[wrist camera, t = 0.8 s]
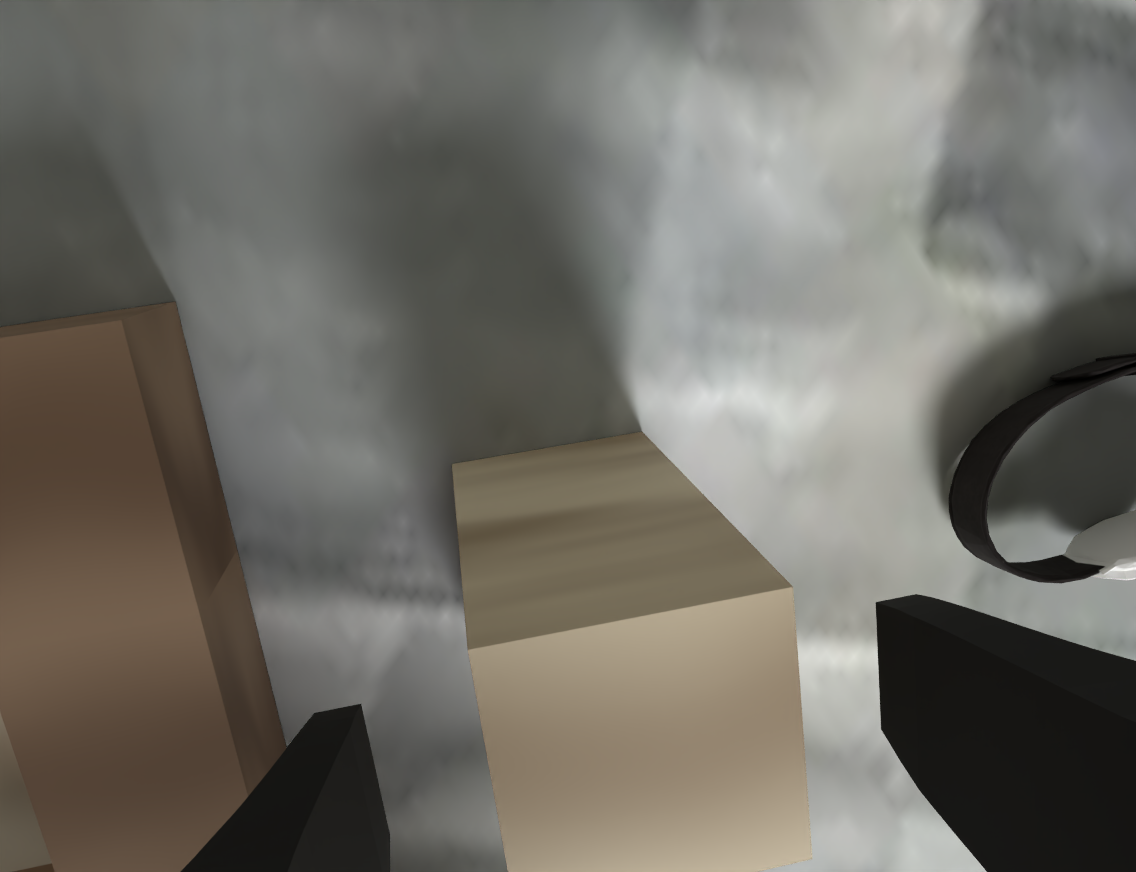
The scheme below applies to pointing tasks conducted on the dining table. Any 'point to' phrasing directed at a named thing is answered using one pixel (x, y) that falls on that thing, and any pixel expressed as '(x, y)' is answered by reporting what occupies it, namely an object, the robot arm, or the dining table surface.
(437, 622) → the dining table surface
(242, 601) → the socket block
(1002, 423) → the watch
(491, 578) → the beech peg
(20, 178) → the dining table surface
